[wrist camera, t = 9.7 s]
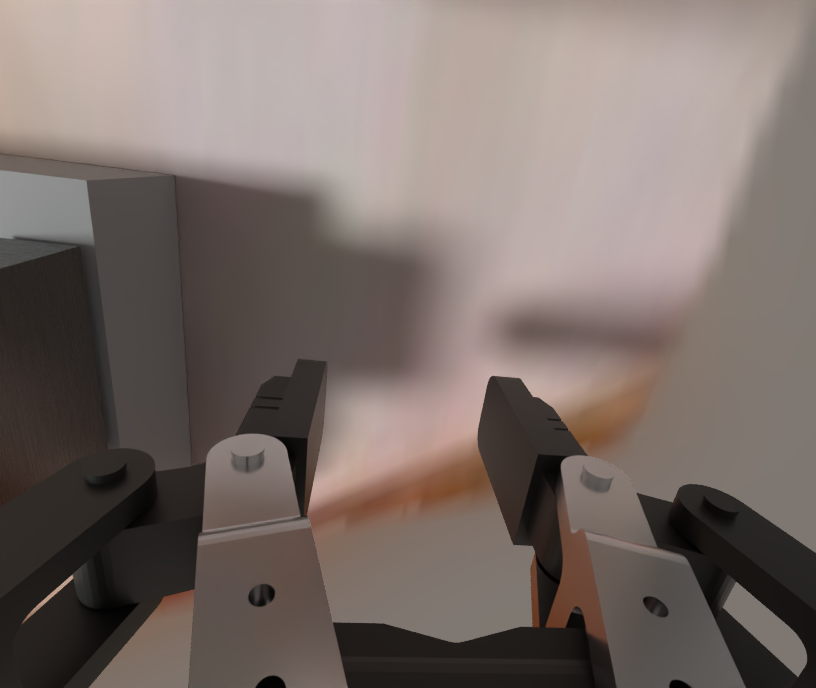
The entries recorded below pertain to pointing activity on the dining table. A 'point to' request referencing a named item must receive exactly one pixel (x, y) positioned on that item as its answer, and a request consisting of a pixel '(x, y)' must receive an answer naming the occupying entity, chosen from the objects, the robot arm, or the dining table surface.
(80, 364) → the plunger
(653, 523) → the robot arm
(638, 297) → the dining table surface
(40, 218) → the gauge housing
